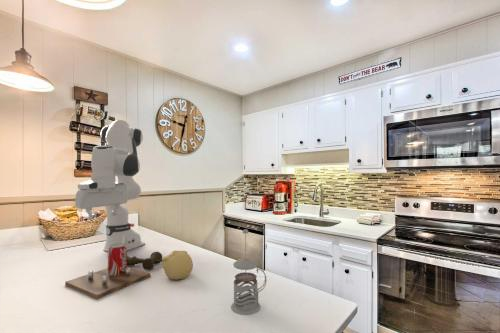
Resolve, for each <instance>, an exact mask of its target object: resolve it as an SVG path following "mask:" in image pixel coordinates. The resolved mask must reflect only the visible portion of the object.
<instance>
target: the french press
mask: <svg viewBox="0 0 500 333" xmlns="http://www.w3.org/2000/svg"><path fill="white" fill-rule="evenodd" d="M242 234H245V236H244V238H245V239H244V240H245V244H244V245H245V248H244V251H245V255H244V256H245V257H244V258H239V259H237V260H236V261H235V262H233V264H232V265H233V267H234V269H237V270H241V271H245V272H239V273H237V274H235V276H234V278H235V279H234V280H233V303H232V304H231V305H230V309H231V311H232V312H233V313H234V314H237V315H240V316H249V315H254V314H256V313H258V312H259V311H260V310H261V303H259V292H261V291H263V290H264V289H265V287H266V285H267V275H266V273H265V271H264V269H263V268H261V267H260V266H258V262H257V261H256V260H255V259H252V258H247V234H249V230H248V229H247V228H244V229H243V230H242ZM253 269H256V273H259V271H261V272H262V273H263V275H264V281H263V284H262V285H261V286H260V287H258V280H257V275H256V274H255V273H253V272H247V271H249V270H250V271H251V270H253ZM247 284H248V285H247Z"/></svg>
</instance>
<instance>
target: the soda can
mask: <svg viewBox="0 0 500 333" xmlns="http://www.w3.org/2000/svg"><path fill="white" fill-rule="evenodd" d="M127 256H128V250H127V248H126V246H125V244H123V243H119V244H113V245H111V246H110V248H109V250H108V251H107V268H108V274H109V275H111V276H120V275H123V274H124V273H125V272H126V268H127V267H128V266H127Z"/></svg>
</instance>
